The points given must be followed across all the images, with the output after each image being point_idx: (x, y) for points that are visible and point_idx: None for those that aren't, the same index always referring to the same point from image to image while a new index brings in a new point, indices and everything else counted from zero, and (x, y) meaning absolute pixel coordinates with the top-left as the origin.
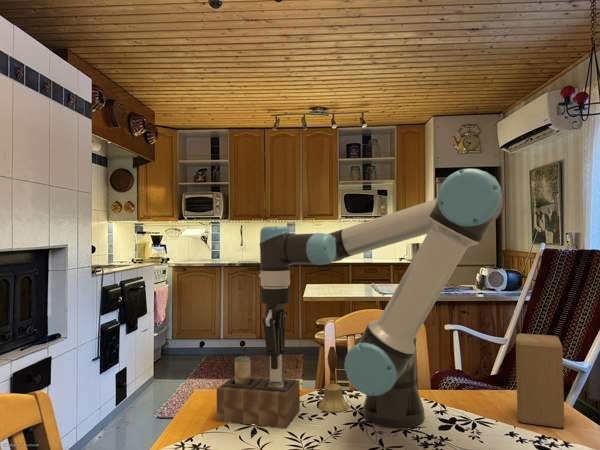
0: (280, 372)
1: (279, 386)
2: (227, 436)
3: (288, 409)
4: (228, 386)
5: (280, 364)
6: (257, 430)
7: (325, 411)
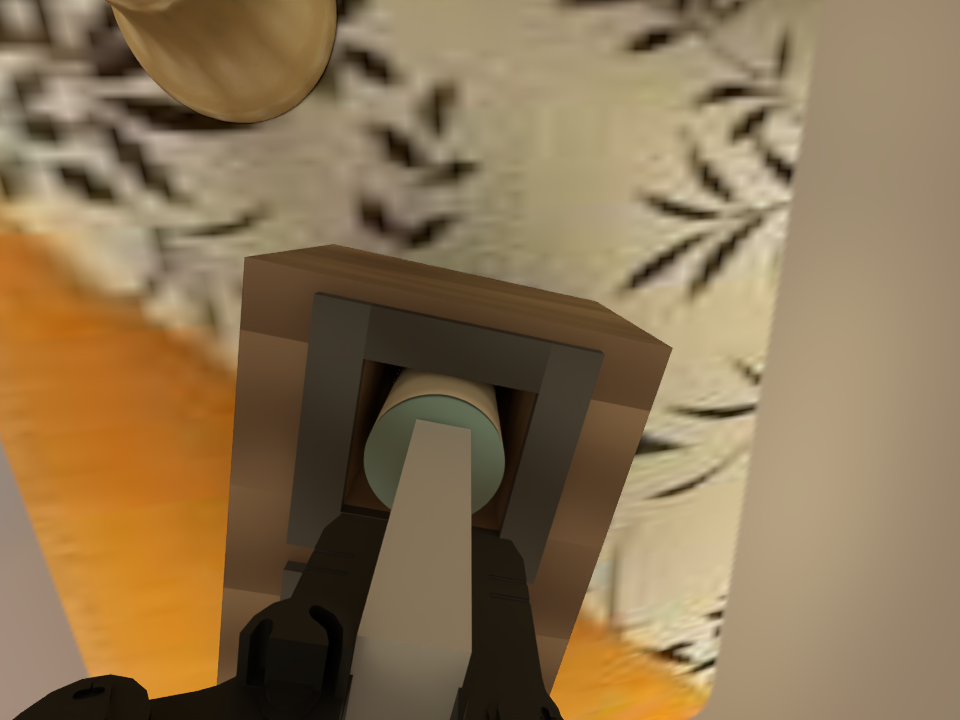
0: (461, 474)
1: (492, 420)
2: (661, 539)
3: (574, 307)
4: None
5: (457, 534)
6: None
7: (324, 67)
